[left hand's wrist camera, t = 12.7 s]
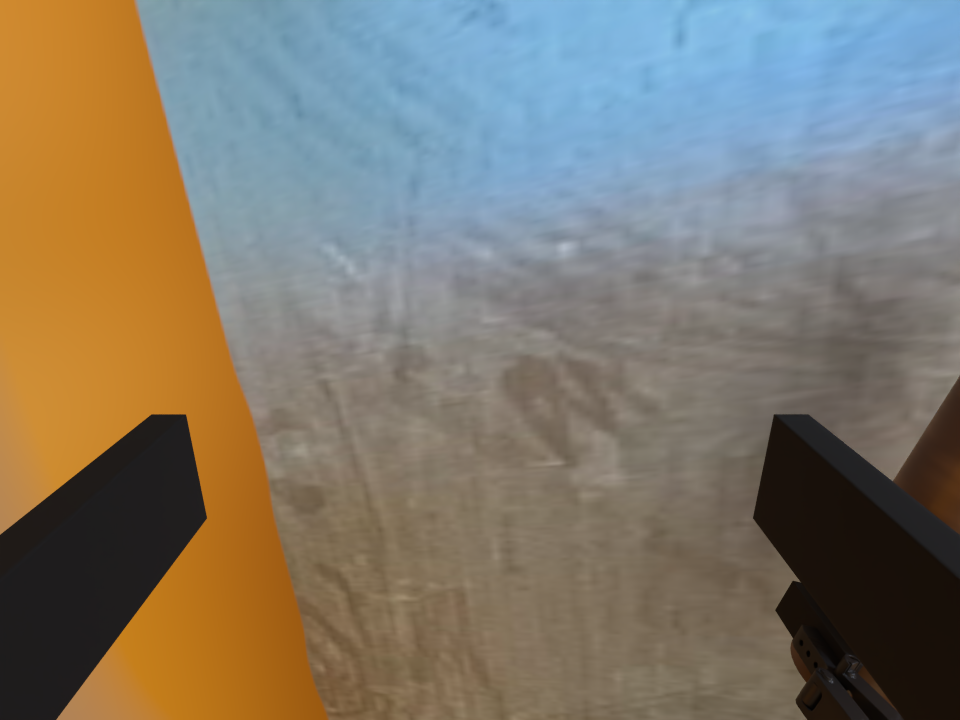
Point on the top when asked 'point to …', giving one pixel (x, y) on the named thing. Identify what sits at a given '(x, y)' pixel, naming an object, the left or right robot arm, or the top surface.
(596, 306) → the top surface
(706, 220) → the top surface
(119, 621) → the left robot arm
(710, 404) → the top surface
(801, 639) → the right robot arm
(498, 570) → the top surface
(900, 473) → the rod
